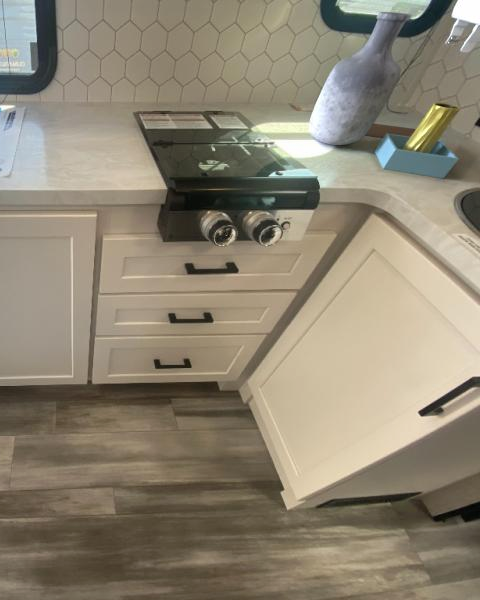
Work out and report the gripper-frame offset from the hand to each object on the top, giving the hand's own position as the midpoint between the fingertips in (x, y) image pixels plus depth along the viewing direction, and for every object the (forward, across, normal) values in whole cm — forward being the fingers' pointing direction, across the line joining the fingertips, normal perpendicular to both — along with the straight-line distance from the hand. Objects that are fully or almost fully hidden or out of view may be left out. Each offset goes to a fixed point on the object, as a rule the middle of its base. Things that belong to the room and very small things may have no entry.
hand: (456, 48), depth 76 cm
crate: (+25, +1, -5) cm, 26 cm away
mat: (+25, +29, -5) cm, 39 cm away
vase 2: (+25, +1, -5) cm, 26 cm away
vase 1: (+25, +10, +13) cm, 30 cm away
